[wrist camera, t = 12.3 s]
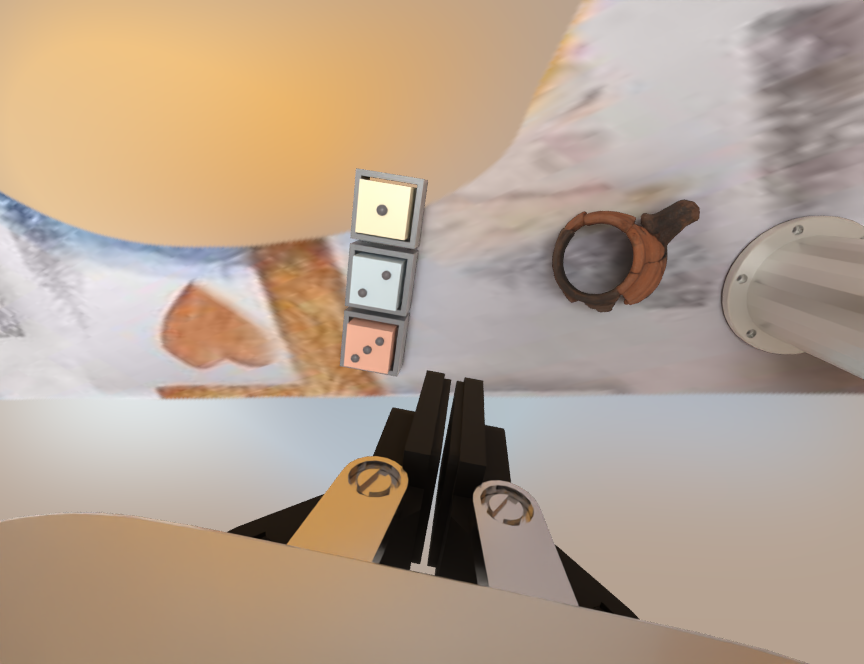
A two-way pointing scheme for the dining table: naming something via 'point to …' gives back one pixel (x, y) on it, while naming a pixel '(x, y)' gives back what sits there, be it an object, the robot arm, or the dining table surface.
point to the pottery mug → (646, 251)
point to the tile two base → (389, 251)
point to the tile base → (380, 317)
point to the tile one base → (417, 216)
